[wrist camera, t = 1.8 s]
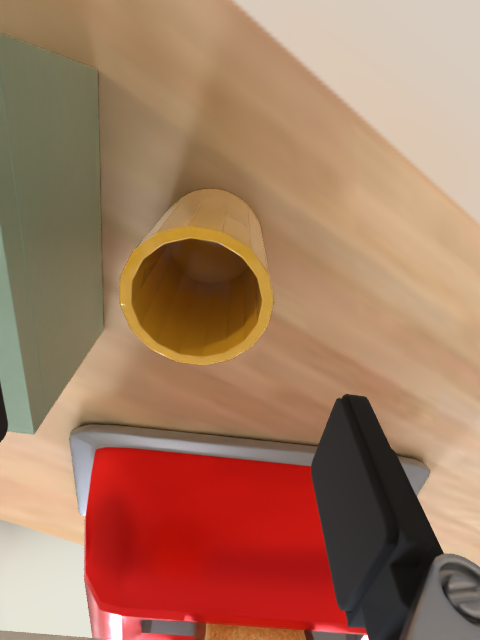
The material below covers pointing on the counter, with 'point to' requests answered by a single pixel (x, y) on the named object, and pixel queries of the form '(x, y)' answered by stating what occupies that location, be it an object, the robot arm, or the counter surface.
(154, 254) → the cup
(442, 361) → the counter surface
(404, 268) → the counter surface
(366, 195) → the counter surface
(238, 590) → the toaster
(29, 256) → the shelf
